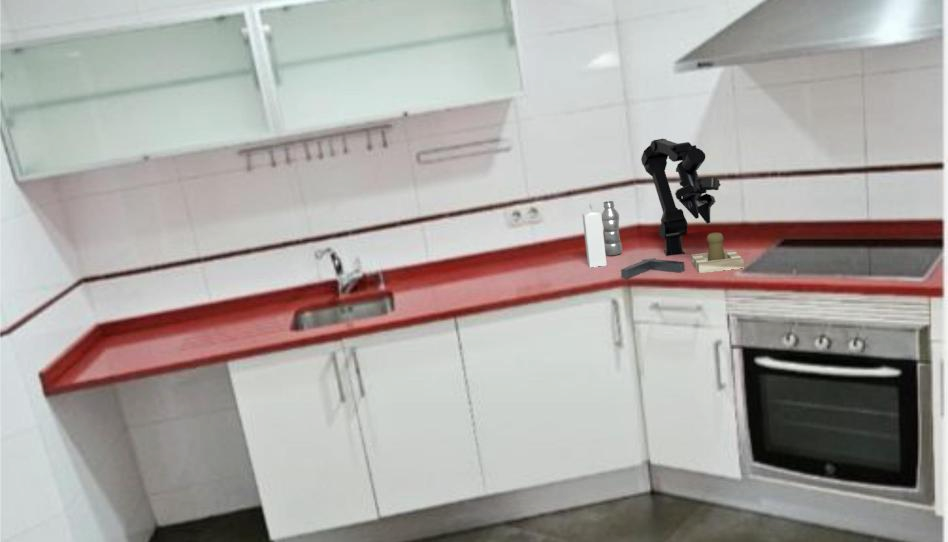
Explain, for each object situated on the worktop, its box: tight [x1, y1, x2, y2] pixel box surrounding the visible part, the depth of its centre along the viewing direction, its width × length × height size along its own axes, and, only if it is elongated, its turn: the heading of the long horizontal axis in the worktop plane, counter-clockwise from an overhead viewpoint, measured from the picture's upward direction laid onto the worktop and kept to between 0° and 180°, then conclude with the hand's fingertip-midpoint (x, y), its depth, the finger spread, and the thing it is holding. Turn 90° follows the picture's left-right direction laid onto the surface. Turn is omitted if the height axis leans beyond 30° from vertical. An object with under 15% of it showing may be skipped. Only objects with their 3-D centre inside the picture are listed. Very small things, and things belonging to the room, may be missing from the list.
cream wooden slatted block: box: [690, 249, 745, 274], centre depth 266 cm, size 14×14×3 cm
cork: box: [706, 232, 725, 261], centre depth 265 cm, size 6×6×11 cm
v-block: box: [620, 258, 686, 280], centre depth 271 cm, size 12×20×3 cm, turn 85°
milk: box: [581, 203, 608, 269], centre depth 288 cm, size 6×6×22 cm
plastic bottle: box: [601, 200, 623, 256], centre depth 300 cm, size 6×7×20 cm
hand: (703, 220), depth 263 cm, fingers open, 9 cm apart
